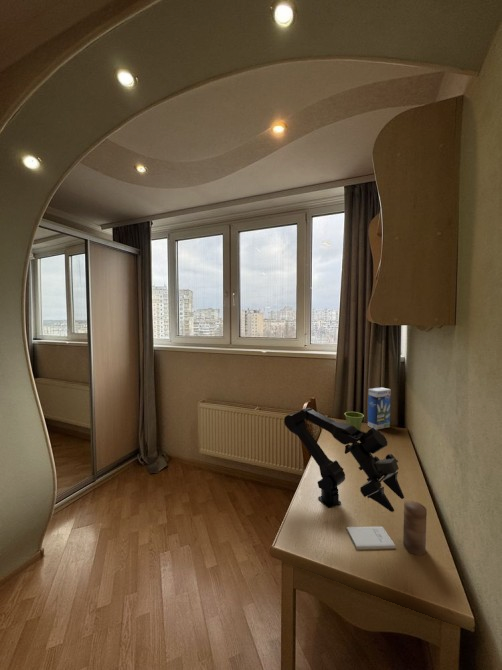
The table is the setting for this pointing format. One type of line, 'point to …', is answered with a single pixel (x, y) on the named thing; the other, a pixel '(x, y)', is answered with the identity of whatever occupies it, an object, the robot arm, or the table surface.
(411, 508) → the walnut roller
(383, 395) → the string lights box
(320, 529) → the table surface
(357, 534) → the external hard drive
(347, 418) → the plant pot
